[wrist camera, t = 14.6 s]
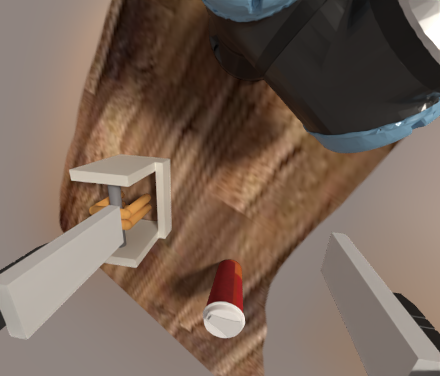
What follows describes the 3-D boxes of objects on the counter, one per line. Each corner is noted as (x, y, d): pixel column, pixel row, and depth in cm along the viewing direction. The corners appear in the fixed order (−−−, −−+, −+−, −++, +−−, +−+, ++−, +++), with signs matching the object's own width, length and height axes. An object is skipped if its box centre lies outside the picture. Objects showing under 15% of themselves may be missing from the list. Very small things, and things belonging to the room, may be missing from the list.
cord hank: (118, 207, 46) (89, 227, 38) (116, 190, 44) (85, 207, 36) (151, 211, 45) (129, 232, 37) (150, 194, 44) (127, 212, 35)
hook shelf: (120, 154, 46) (69, 169, 33) (169, 158, 45) (137, 176, 32) (127, 223, 52) (86, 260, 39) (171, 229, 51) (144, 268, 38)
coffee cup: (208, 272, 54) (194, 327, 40) (222, 250, 51) (212, 301, 37) (237, 286, 54) (232, 346, 40) (252, 265, 51) (253, 321, 37)
